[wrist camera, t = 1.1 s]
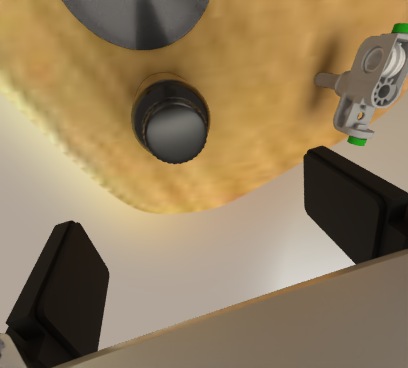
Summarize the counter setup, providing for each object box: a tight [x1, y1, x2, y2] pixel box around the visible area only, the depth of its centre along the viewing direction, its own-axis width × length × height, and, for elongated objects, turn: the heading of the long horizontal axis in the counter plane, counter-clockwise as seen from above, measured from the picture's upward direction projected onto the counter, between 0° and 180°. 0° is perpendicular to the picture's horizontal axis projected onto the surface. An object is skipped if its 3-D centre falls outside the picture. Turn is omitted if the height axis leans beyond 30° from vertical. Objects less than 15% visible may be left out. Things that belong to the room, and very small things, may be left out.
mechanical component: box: [314, 23, 408, 146], centre depth 27 cm, size 3×10×10 cm, turn 172°
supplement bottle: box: [131, 72, 210, 164], centre depth 24 cm, size 7×7×12 cm
